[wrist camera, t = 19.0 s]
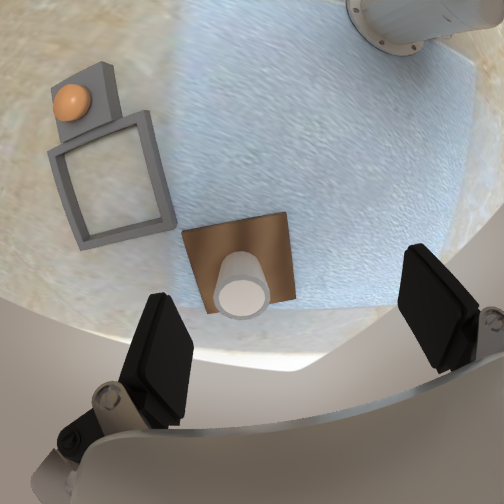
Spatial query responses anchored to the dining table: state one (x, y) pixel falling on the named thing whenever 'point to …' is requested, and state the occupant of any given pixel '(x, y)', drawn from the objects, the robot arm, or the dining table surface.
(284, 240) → the walnut mat
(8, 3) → the dining table surface
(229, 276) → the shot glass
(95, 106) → the housing
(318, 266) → the dining table surface
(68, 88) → the orange rounded piece
